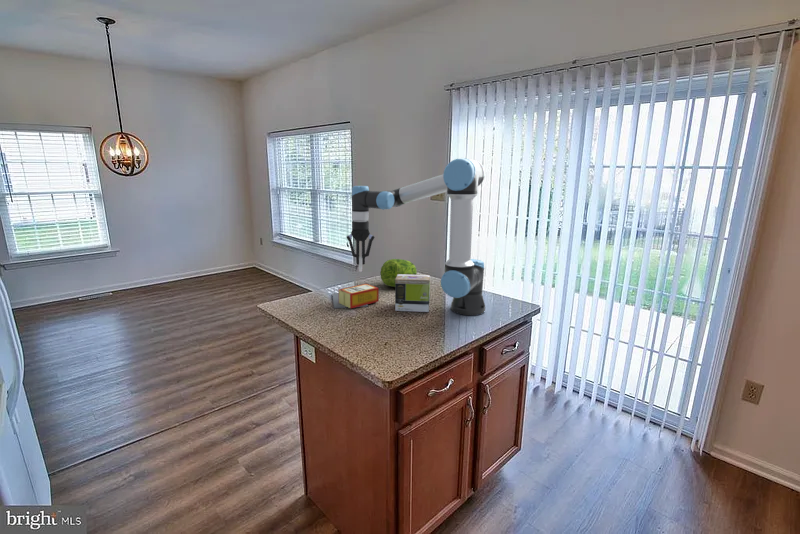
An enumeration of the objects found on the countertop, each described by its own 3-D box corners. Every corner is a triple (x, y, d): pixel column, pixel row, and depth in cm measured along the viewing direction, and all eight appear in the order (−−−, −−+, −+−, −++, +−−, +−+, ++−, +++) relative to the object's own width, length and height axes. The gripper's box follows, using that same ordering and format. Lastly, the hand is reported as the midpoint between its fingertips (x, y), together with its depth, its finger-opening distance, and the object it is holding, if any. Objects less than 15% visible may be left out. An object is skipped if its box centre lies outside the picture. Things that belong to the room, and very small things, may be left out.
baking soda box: (378, 287, 181) (349, 294, 170) (378, 301, 182) (350, 308, 172) (366, 283, 188) (337, 289, 177) (366, 296, 189) (338, 303, 179)
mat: (367, 306, 177) (367, 305, 177) (334, 308, 174) (334, 306, 174) (362, 293, 196) (362, 291, 196) (332, 294, 193) (332, 293, 193)
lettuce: (422, 289, 214) (423, 262, 215) (403, 286, 196) (405, 256, 197) (396, 289, 222) (398, 262, 223) (376, 286, 204) (378, 257, 205)
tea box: (429, 305, 181) (430, 274, 177) (428, 313, 171) (430, 280, 167) (396, 303, 182) (397, 272, 178) (394, 311, 172) (395, 278, 169)
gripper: (373, 219, 182) (373, 268, 188) (345, 219, 180) (345, 269, 185) (375, 221, 175) (375, 272, 181) (346, 221, 172) (347, 273, 178)
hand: (360, 271), depth 183 cm, fingers closed
